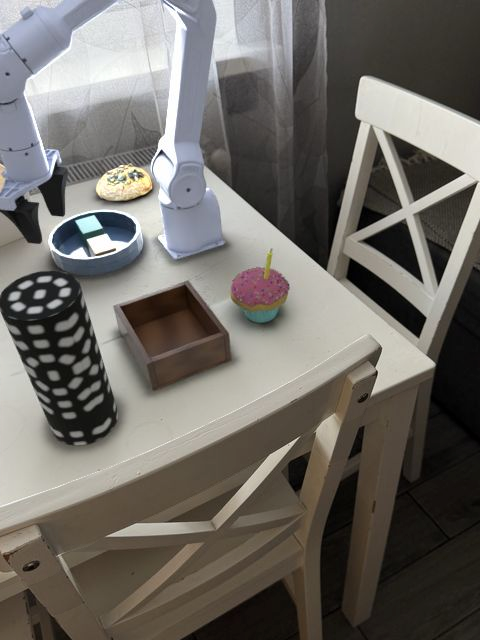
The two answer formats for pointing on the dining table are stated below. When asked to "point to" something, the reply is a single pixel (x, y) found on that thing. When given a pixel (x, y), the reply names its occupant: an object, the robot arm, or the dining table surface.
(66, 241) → the bowl
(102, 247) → the brown block
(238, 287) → the cupcake
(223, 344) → the holder
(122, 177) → the bread roll
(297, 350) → the dining table surface
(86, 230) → the teal block
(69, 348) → the white-spotted black cylinder
